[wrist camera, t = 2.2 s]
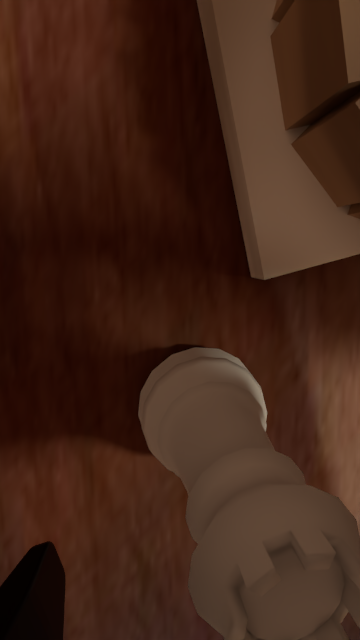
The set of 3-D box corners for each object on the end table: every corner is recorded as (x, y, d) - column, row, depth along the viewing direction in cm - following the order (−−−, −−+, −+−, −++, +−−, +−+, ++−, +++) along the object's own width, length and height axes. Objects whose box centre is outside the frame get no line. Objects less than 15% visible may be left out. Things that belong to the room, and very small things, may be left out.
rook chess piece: (114, 381, 12) (99, 603, 5) (223, 321, 12) (386, 436, 5) (172, 473, 13) (238, 779, 6) (270, 417, 14) (465, 637, 6)
